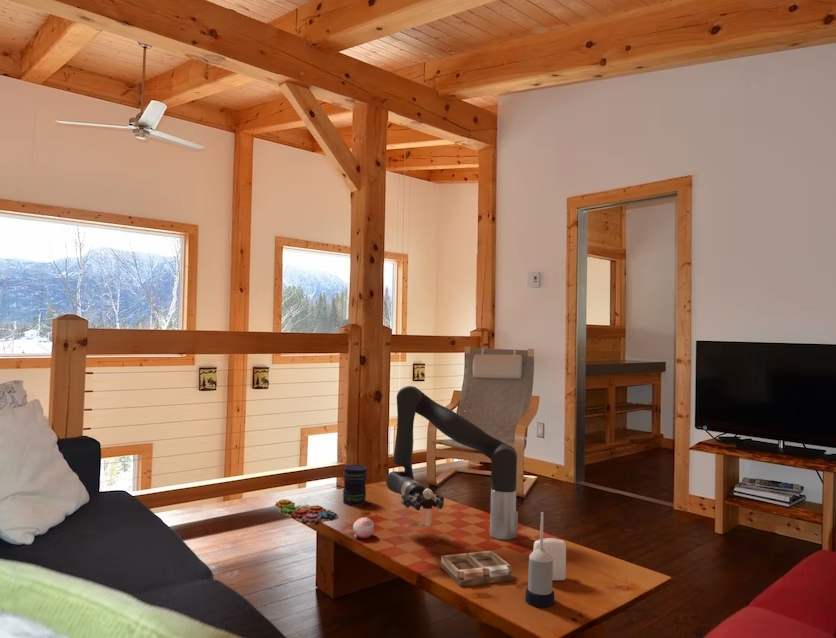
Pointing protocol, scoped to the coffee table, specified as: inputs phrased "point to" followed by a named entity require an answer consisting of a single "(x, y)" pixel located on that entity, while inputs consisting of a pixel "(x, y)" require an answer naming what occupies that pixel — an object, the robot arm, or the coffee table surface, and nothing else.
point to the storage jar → (354, 485)
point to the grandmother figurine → (427, 509)
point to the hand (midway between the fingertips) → (430, 506)
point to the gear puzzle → (305, 512)
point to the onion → (363, 528)
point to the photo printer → (555, 556)
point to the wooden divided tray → (476, 568)
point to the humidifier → (540, 576)
